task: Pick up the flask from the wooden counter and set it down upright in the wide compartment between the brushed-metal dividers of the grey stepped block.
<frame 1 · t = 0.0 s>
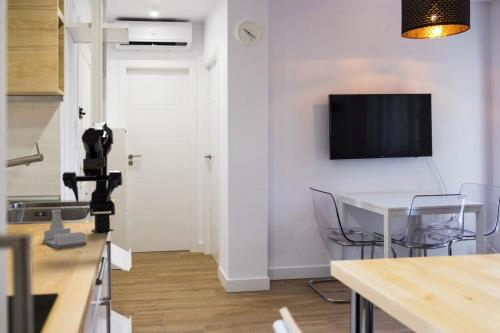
hand: (91, 201, 173), 15 cm above the table, tool tilted 35°, fingers open, 9 cm apart
grey stepped block: (64, 243, 180), on the table
flask: (57, 238, 191), on the table
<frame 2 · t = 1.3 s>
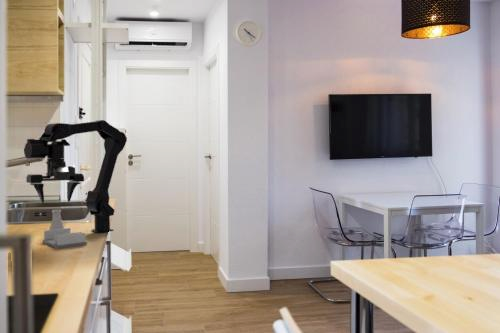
hand: (55, 202, 189), 13 cm above the table, tool pointing down, fingers open, 9 cm apart
nothing on the table moved.
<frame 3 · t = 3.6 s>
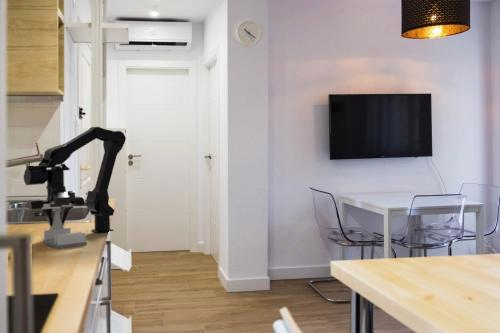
hand: (56, 226, 191), 4 cm above the table, tool pointing down, fingers closed on flask, 3 cm apart
flask: (57, 238, 191), on the table, touching gripper
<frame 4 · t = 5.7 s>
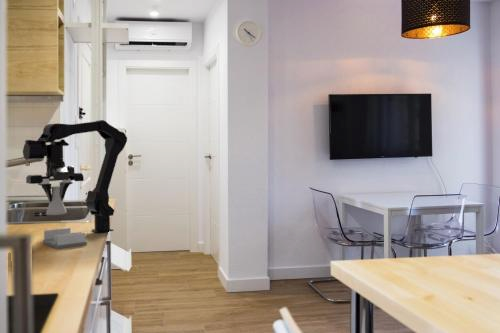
hand: (56, 202, 191), 13 cm above the table, tool pointing down, fingers closed on flask, 3 cm apart
flask: (56, 214, 191), point 8 cm above the table, touching gripper
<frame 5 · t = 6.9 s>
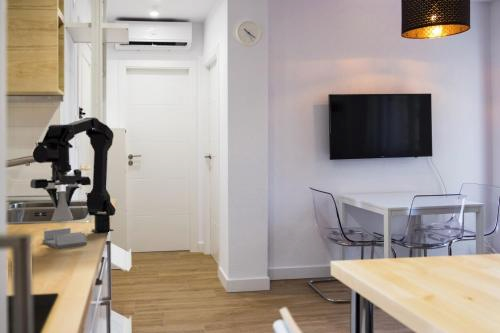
hand: (62, 207, 181), 12 cm above the table, tool pointing down, fingers closed on flask, 3 cm apart
flask: (62, 221, 181), point 7 cm above the table, touching gripper
when the fingers open (6 cm above the table, at t = 8.0 s): flask stays where it is, resting on grey stepped block.
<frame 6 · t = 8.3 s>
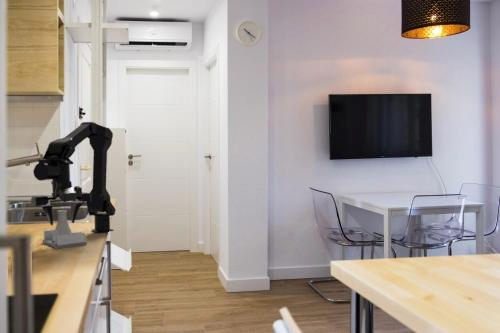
hand: (62, 224, 181), 6 cm above the table, tool pointing down, fingers open, 7 cm apart
flask: (63, 240, 181), point 1 cm above the table, touching grey stepped block
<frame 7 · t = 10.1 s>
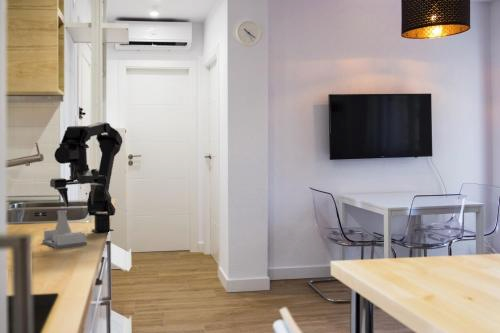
hand: (80, 205, 188), 12 cm above the table, tool pointing down, fingers open, 9 cm apart
nothing on the table moved.
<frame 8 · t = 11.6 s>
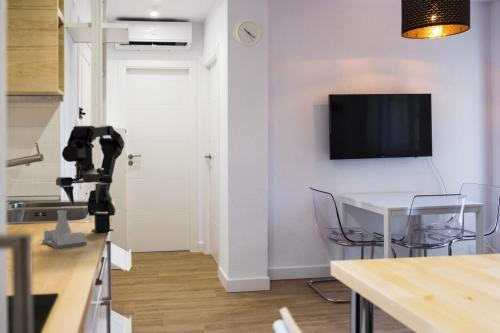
hand: (85, 204, 190), 12 cm above the table, tool pointing down, fingers open, 9 cm apart
nothing on the table moved.
at the end: flask 0.1 cm from the target spot on the grey stepped block, point 0.8 cm above the grey stepped block's base; flask tilted 0°; the gripper is holding nothing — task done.
